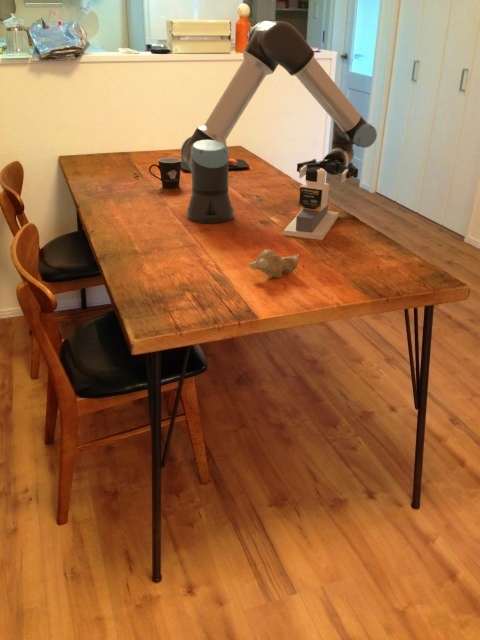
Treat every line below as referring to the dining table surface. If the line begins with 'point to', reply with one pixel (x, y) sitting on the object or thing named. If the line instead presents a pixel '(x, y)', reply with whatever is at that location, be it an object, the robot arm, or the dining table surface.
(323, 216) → the stand
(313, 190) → the medicine bottle
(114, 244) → the dining table surface
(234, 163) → the sushi plate
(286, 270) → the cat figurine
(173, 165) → the coffee mug
